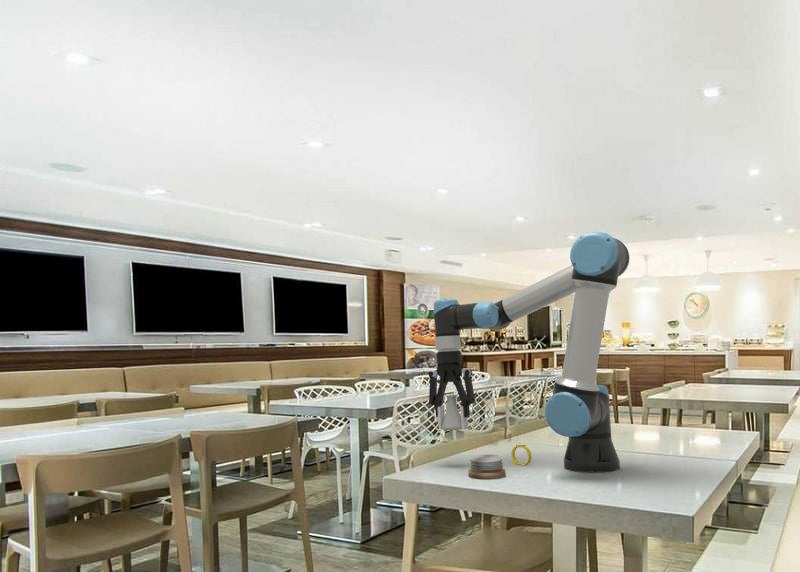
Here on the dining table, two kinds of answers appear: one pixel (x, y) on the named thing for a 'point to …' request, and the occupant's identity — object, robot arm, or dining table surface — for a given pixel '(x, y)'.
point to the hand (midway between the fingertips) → (453, 428)
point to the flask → (452, 415)
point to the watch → (527, 452)
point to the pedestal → (486, 467)
